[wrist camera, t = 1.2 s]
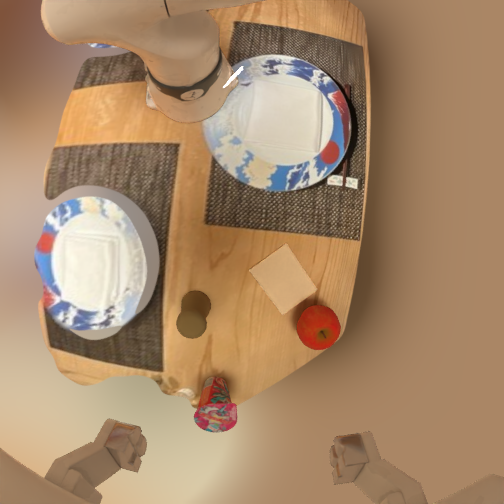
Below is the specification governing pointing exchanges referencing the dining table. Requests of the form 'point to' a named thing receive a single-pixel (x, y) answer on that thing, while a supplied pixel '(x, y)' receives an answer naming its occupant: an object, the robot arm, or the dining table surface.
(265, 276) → the napkin
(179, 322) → the pepper shaker
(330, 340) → the apple
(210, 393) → the cup
